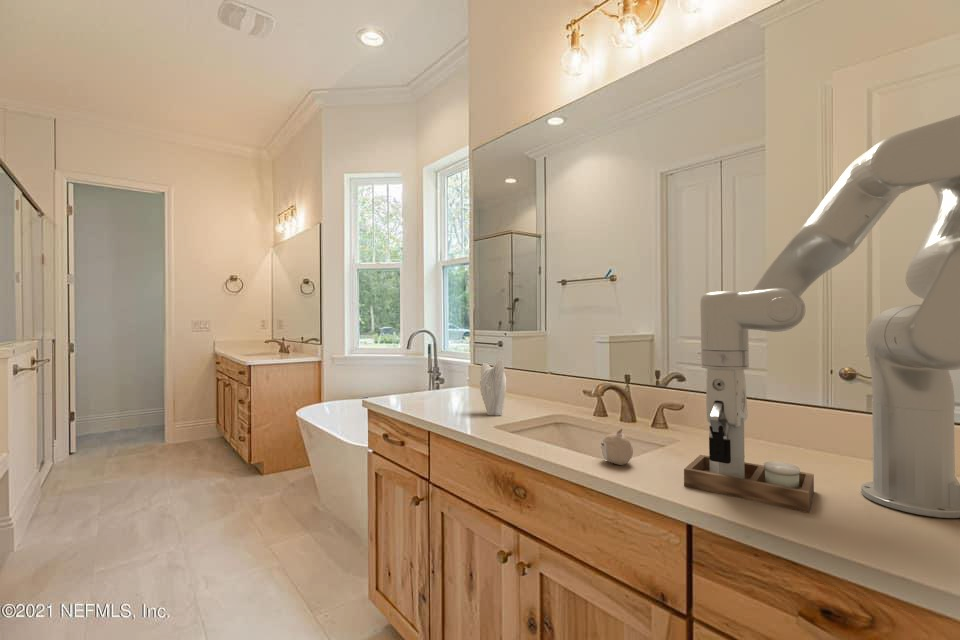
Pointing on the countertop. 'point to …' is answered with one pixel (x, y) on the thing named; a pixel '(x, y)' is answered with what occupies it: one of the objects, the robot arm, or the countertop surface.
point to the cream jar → (782, 474)
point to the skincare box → (732, 454)
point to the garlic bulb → (617, 448)
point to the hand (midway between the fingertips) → (726, 455)
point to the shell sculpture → (493, 387)
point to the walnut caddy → (750, 485)
